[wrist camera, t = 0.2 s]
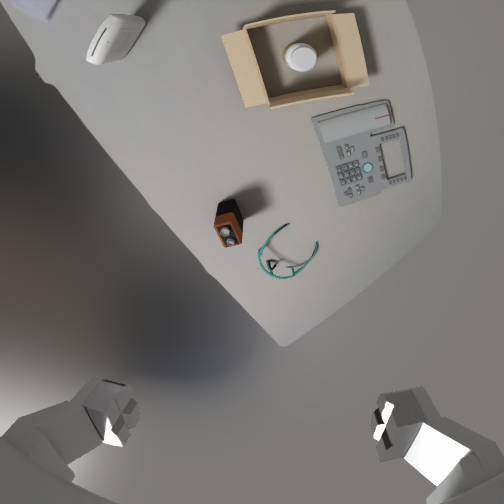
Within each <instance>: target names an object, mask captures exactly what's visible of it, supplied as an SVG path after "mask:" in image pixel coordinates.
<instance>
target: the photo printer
mask: <svg viewBox="0 0 504 504" xmlns="http://www.w3.org/2000/svg"><path fill="white" fill-rule="evenodd" d="M145 24H146V22H145V20H144V19H143V18H142V17H139V16H133V15H125V14H110V15H109V16H108V17H107V18H106V20H105V21H104V22H103V23H102V25H101V26H100V28H99V29H98V31H97V33H96V34H95V36H94V38H93V40H92V42H91V44H90V46H89V49H88V52H87V56H86V60H87V61H89V62H91V63H92V64H105V63H109V62H113V61H118V60H122V59H123V58H124V57H125V56H126V55H127V53H128V52H129V50H130V49H131V47H132V45H133V44H134V42H135V41H136V39H137V37H138V36H139V34H140V33H141V31H142V30H143V28H144V26H145Z"/></svg>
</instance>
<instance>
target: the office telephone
mask: <svg viewBox="0 0 504 504" xmlns="http://www.w3.org/2000/svg"><path fill="white" fill-rule="evenodd" d="M311 120H312V123H313V126H314V129H315V131H316V134H317V137H318V140H319V142H320V145H321V148H322V151H323V154H324V157H325V160H326V163H327V166H328V169H329V172H330V175H331V178H332V181H333V185H334V188H335V193H336V197H337V200H338V204H339V206H345V205H348V204H351V203H354V202H357V201H360V200H363V199H366V198H369V197H372V196H375V195H377V194H379V193H381V191H382V190H383V189H386V188H389V187H392V186H395V185H398V184H401V183H404V182H410V181H411V170H410V161H409V154H408V148H407V141H406V136H405V132H404V129H403V128H402V127H399V128H397V129H394V130H390V131H387V132H383V133H379V134H375V135H372V136H370V134H371V133H372V132H374V131H378V130H381V129H385V128H388V127H392V126H393V125H394V121H393V116H392V112H391V107H390V104H389V102H388V101H386V100H381V101H376V102H371V103H366V104H363V105H356V106H352V107H348V108H344V109H341V110H337V111H333V112H330V113H326V114H323V115H319V116H315V117H312V118H311ZM396 139H400V143H401V148H402V153H403V159H404V167H405V173H402V174H399V175H396V176H393V177H390V178H386V174H385V169H384V164H383V160H382V155H381V150H380V144H382V143H385V142H388V141H392V140H396Z"/></svg>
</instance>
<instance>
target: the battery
mask: <svg viewBox="0 0 504 504" xmlns="http://www.w3.org/2000/svg"><path fill="white" fill-rule="evenodd" d="M214 228H215V230H216V232H217V234H218V236H219V238H220V240H221V242H222V244H223V246H224V247H225V248H226V247H231V246H235V245H239V244H241V243H242V233H243V218H242V215H241V213H240V211H239V208H238V206H237V204H236V201H235V200H234V199H233V200H229V201H225V202H222V203H219V204H218V207H217V212H216V217H215V222H214Z"/></svg>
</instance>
